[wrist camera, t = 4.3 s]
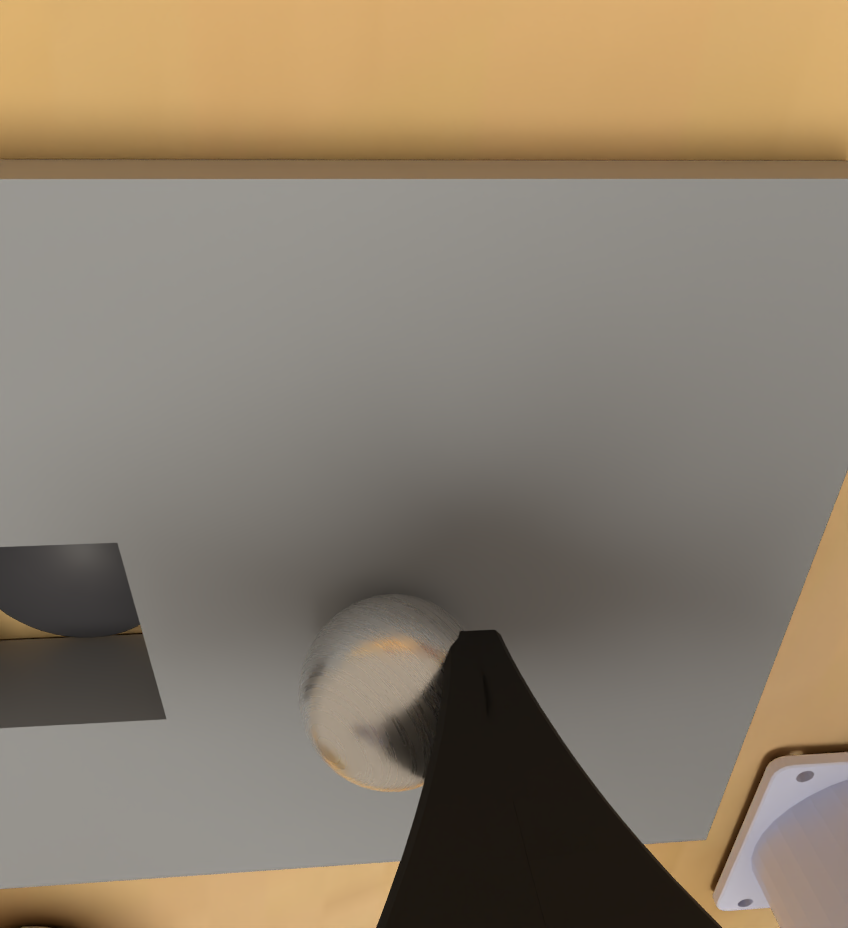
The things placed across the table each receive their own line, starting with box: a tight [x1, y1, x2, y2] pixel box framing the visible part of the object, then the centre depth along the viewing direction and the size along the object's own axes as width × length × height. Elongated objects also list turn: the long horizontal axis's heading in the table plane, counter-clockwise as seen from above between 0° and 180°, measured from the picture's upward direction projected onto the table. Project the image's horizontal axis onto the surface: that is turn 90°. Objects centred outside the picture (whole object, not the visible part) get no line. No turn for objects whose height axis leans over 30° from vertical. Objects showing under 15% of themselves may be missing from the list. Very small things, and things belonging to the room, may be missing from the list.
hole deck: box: [0, 159, 848, 889], centre depth 14 cm, size 20×16×2 cm
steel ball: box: [299, 594, 466, 792], centre depth 11 cm, size 3×3×3 cm
